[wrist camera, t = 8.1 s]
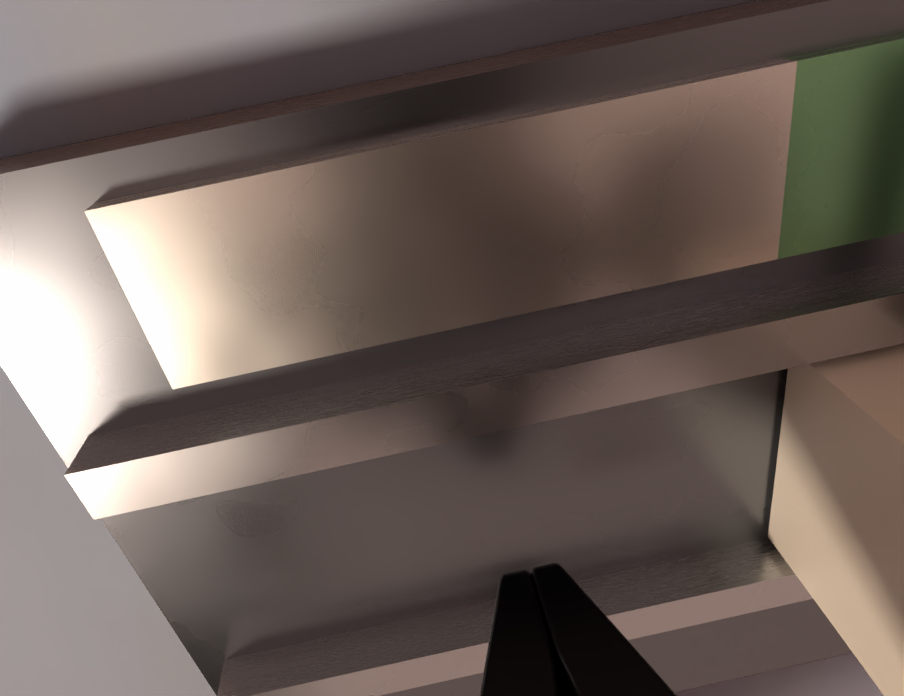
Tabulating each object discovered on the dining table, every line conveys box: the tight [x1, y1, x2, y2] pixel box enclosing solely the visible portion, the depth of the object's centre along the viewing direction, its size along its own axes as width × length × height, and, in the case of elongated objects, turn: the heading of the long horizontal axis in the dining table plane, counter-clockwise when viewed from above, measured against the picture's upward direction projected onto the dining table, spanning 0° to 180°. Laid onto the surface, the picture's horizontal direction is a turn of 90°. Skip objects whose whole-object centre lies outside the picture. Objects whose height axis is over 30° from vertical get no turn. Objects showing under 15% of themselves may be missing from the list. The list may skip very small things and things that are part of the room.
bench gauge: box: [0, 0, 904, 696], centre depth 9 cm, size 19×13×5 cm
